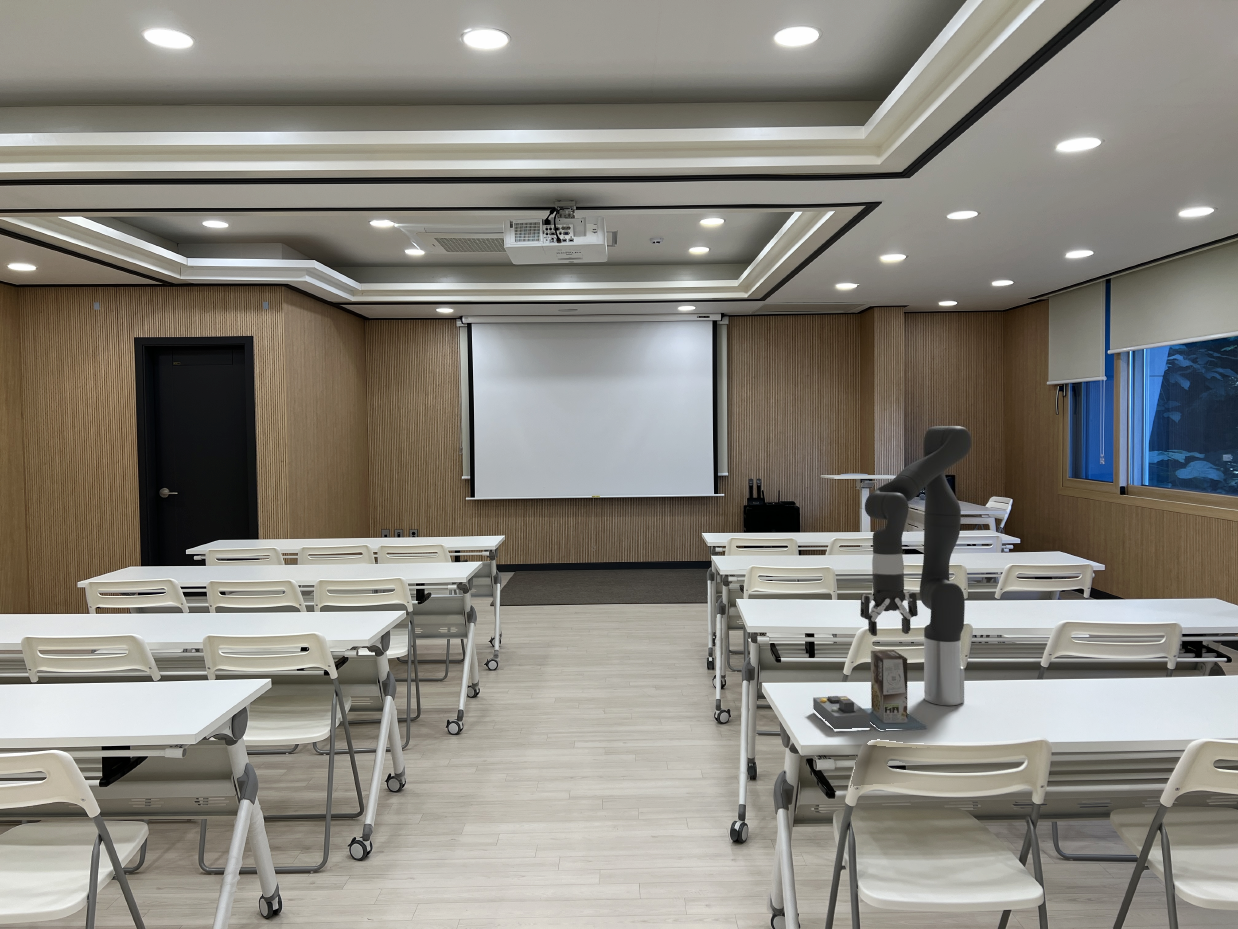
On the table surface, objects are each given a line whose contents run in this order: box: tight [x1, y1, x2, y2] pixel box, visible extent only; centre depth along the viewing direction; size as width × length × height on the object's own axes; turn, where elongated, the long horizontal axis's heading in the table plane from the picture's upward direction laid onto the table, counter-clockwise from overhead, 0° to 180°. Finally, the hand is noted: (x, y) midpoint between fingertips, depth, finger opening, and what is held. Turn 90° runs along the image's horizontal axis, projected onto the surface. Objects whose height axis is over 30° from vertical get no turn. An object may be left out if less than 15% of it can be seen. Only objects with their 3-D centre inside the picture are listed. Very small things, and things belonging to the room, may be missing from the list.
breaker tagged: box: [827, 695, 841, 704], centre depth 192 cm, size 3×3×3 cm
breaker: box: [839, 697, 854, 713], centre depth 186 cm, size 3×3×3 cm
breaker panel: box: [812, 695, 871, 729], centre depth 189 cm, size 14×9×5 cm, turn 7°
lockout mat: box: [862, 707, 927, 730], centre depth 190 cm, size 12×14×1 cm
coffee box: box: [870, 649, 908, 723], centre depth 189 cm, size 9×6×16 cm
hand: (889, 634), depth 189 cm, fingers open, 8 cm apart
